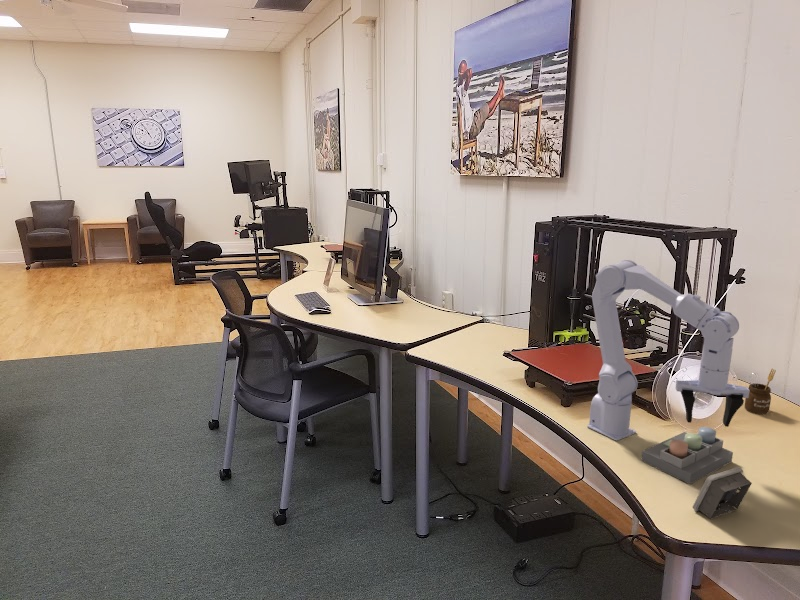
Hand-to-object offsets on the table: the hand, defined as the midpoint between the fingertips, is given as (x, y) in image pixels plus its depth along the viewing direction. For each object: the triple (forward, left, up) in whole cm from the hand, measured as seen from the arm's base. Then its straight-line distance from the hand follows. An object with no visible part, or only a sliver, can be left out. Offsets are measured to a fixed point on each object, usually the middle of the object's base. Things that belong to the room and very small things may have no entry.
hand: (706, 422), depth 134 cm
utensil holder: (-7, +39, -10) cm, 41 cm away
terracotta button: (-1, -8, -6) cm, 10 cm away
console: (-2, -2, -10) cm, 11 cm away
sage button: (-1, -2, -6) cm, 6 cm away
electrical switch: (+13, -15, -10) cm, 22 cm away
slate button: (-1, +3, -6) cm, 7 cm away
